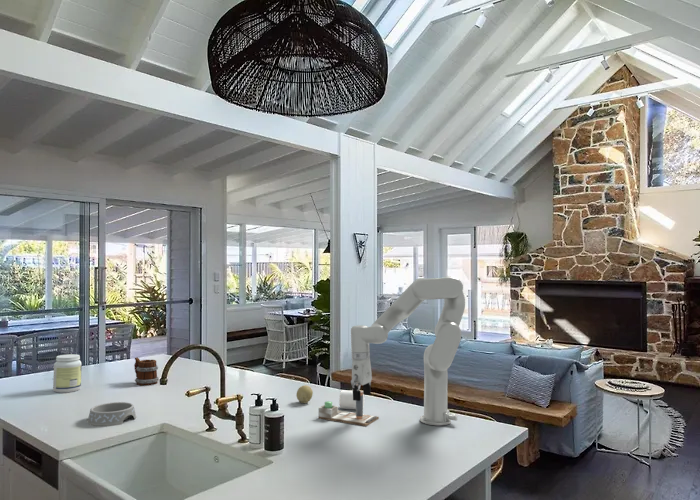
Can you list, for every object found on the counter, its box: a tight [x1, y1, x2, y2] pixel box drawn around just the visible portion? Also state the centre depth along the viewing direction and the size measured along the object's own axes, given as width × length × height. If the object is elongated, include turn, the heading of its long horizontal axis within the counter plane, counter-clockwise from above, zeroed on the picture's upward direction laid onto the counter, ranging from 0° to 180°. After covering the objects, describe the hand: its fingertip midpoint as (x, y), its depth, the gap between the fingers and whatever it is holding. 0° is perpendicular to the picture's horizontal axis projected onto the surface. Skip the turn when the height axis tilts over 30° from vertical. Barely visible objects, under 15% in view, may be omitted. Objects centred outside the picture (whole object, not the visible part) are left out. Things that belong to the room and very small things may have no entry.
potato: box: [295, 384, 314, 404], centre depth 243 cm, size 8×8×8 cm
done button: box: [324, 400, 333, 409], centre depth 220 cm, size 3×3×3 cm
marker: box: [355, 392, 364, 419], centre depth 216 cm, size 3×3×10 cm
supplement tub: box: [52, 353, 83, 394], centre depth 260 cm, size 12×12×17 cm
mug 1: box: [133, 357, 160, 387], centre depth 278 cm, size 12×14×15 cm
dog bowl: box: [86, 401, 137, 427], centre depth 213 cm, size 17×18×5 cm
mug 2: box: [338, 389, 366, 411], centre depth 236 cm, size 12×10×8 cm
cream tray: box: [317, 404, 380, 427], centre depth 219 cm, size 22×12×4 cm, turn 63°
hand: (362, 397), depth 216 cm, fingers open, 9 cm apart
